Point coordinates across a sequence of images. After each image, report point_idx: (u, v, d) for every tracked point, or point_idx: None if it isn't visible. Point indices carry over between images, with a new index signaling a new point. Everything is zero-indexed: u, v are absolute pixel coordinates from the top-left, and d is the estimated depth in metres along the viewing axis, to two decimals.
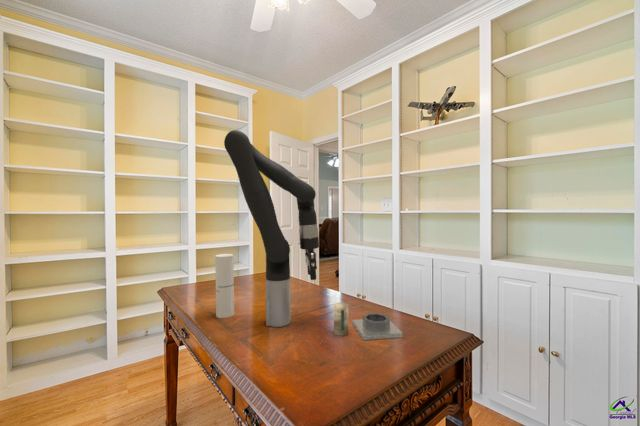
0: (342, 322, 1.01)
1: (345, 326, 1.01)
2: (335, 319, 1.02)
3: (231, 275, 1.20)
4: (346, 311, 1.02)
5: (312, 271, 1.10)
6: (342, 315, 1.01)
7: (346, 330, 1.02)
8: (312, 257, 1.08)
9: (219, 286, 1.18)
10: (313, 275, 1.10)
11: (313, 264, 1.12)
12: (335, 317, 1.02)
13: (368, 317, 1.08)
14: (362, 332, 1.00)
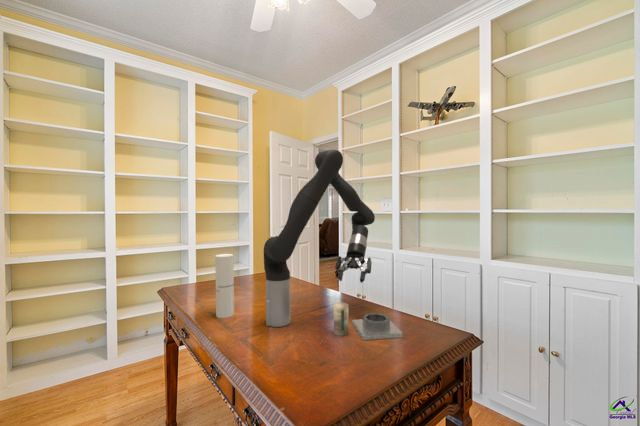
0: (342, 322, 1.01)
1: (345, 326, 1.01)
2: (335, 319, 1.02)
3: (231, 275, 1.20)
4: (346, 311, 1.02)
5: (364, 273, 1.14)
6: (342, 315, 1.01)
7: (346, 330, 1.02)
8: (370, 262, 1.17)
9: (219, 286, 1.18)
10: (364, 277, 1.13)
11: (361, 269, 1.17)
12: (335, 317, 1.02)
13: (368, 317, 1.08)
14: (362, 332, 1.00)
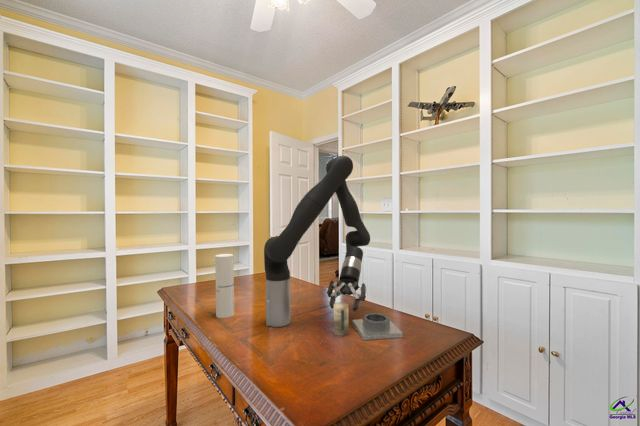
0: (342, 322, 1.01)
1: (345, 326, 1.01)
2: (335, 319, 1.02)
3: (231, 275, 1.20)
4: (346, 311, 1.02)
5: (358, 301, 1.06)
6: (342, 315, 1.01)
7: (346, 330, 1.02)
8: (365, 288, 1.09)
9: (219, 286, 1.18)
10: (358, 305, 1.05)
11: (354, 296, 1.08)
12: (335, 317, 1.02)
13: (368, 317, 1.08)
14: (362, 332, 1.00)
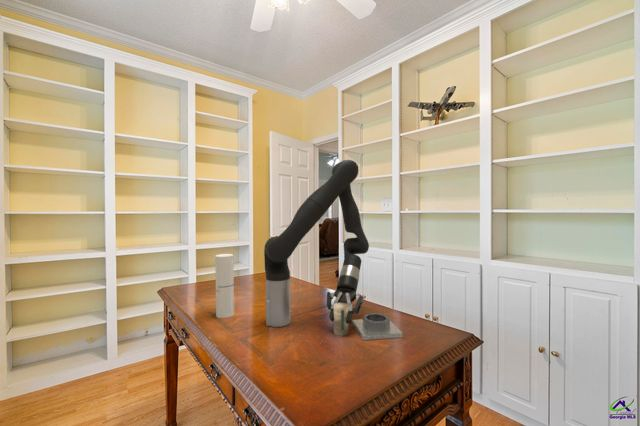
0: (342, 322, 1.01)
1: (345, 326, 1.01)
2: (335, 319, 1.02)
3: (231, 275, 1.20)
4: (346, 311, 1.02)
5: (351, 313, 1.02)
6: (342, 315, 1.01)
7: (346, 330, 1.02)
8: (361, 300, 1.05)
9: (219, 286, 1.18)
10: (351, 318, 1.01)
11: None
12: (335, 317, 1.02)
13: (368, 317, 1.08)
14: (362, 332, 1.00)
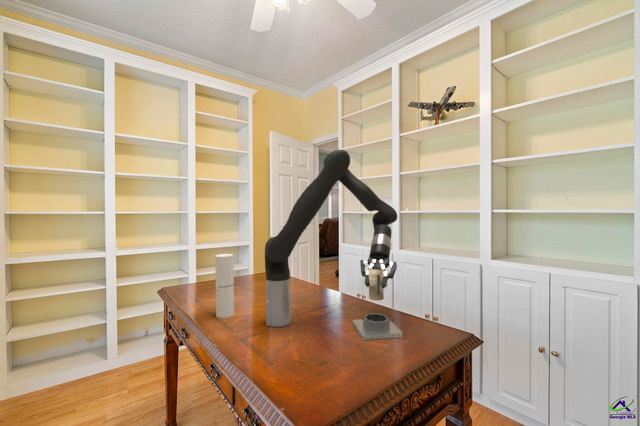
0: (378, 287, 1.03)
1: (381, 290, 1.03)
2: (371, 284, 1.04)
3: (231, 275, 1.20)
4: (382, 276, 1.03)
5: (387, 278, 1.04)
6: (378, 280, 1.03)
7: (382, 295, 1.04)
8: (395, 267, 1.07)
9: (219, 286, 1.18)
10: (386, 283, 1.03)
11: (383, 273, 1.07)
12: (371, 282, 1.04)
13: (368, 317, 1.08)
14: (362, 332, 1.00)
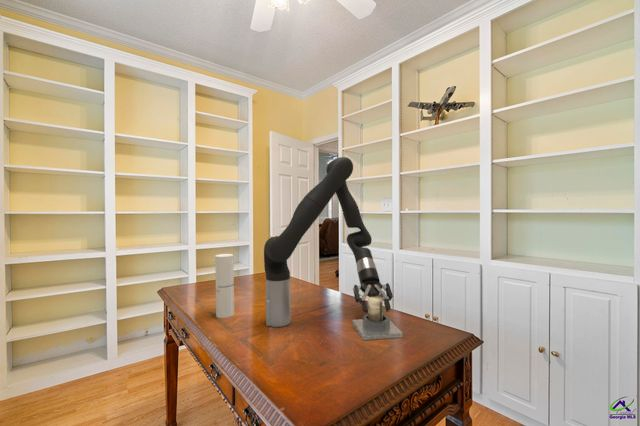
0: (381, 314, 1.04)
1: (382, 317, 1.04)
2: (373, 313, 1.03)
3: (231, 275, 1.20)
4: (382, 303, 1.05)
5: None
6: (381, 307, 1.04)
7: None
8: None
9: (219, 286, 1.18)
10: (389, 305, 1.06)
11: None
12: (373, 311, 1.03)
13: None
14: (362, 332, 1.00)
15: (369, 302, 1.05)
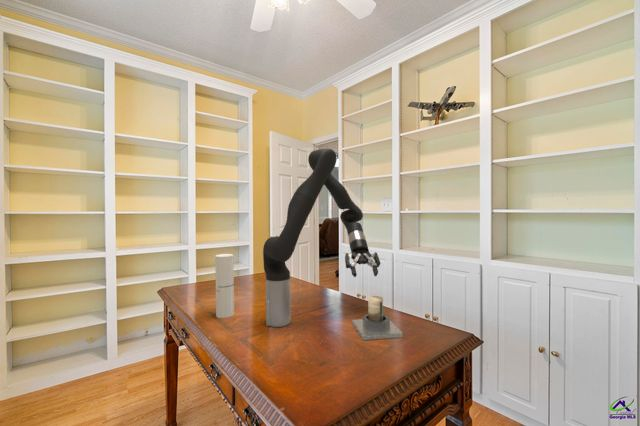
0: (381, 314, 1.04)
1: (382, 317, 1.04)
2: (373, 312, 1.04)
3: (231, 275, 1.20)
4: (382, 303, 1.05)
5: None
6: (381, 307, 1.04)
7: None
8: None
9: (219, 286, 1.18)
10: None
11: (370, 264, 1.21)
12: (373, 310, 1.04)
13: None
14: (362, 332, 1.00)
15: (369, 302, 1.05)
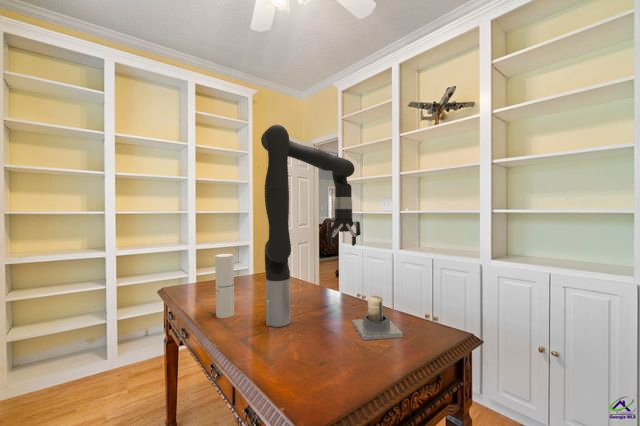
0: (380, 314, 1.04)
1: (382, 317, 1.04)
2: (373, 313, 1.03)
3: (231, 275, 1.20)
4: None
5: None
6: (380, 307, 1.04)
7: None
8: None
9: (219, 286, 1.18)
10: (355, 241, 1.25)
11: (350, 232, 1.26)
12: (373, 311, 1.03)
13: None
14: (362, 332, 1.00)
15: (369, 302, 1.05)
